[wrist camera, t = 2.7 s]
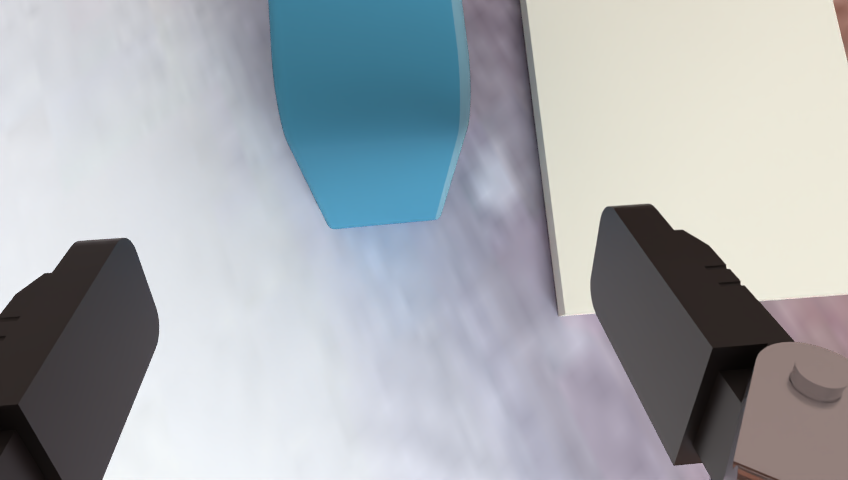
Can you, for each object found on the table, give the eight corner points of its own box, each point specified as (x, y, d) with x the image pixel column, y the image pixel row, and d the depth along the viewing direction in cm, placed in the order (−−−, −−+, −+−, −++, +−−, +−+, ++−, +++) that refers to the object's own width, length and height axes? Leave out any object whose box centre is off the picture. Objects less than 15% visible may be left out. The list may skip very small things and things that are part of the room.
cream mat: (796, -77, 29) (810, -93, 28) (882, 291, 25) (902, 288, 24) (511, -67, 28) (515, -83, 27) (558, 316, 24) (565, 314, 23)
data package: (311, -19, 27) (248, -312, 15) (410, -26, 27) (421, -317, 16) (331, 237, 25) (273, 123, 13) (439, 227, 25) (478, 107, 13)
